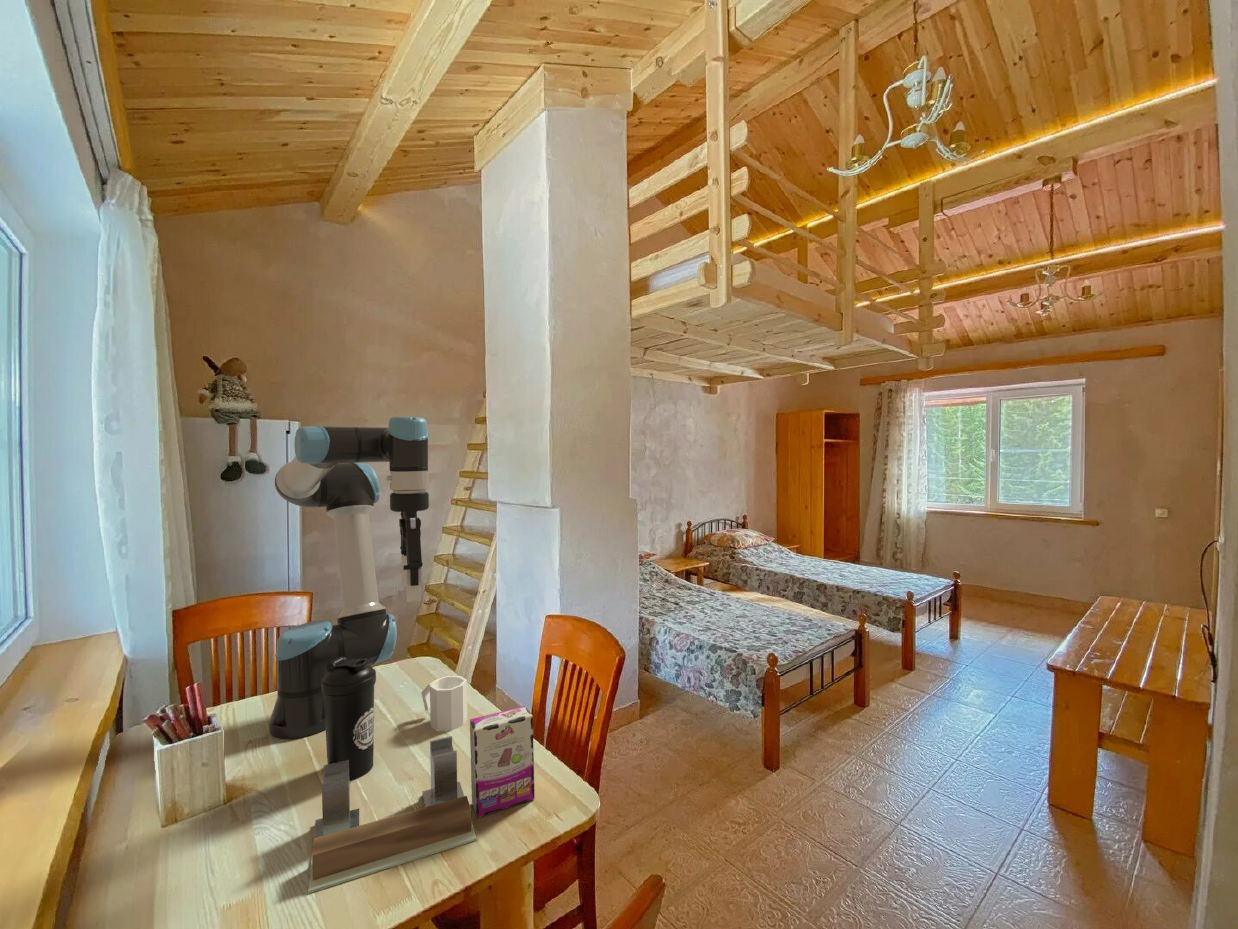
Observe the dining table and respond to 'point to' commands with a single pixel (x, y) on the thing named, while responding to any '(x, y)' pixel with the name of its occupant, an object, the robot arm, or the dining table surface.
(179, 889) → the dining table surface
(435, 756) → the post
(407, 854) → the mat
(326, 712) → the water bottle
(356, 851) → the rail
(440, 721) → the mug
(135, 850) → the dining table surface
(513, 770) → the candy bar box
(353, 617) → the robot arm
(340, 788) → the post
